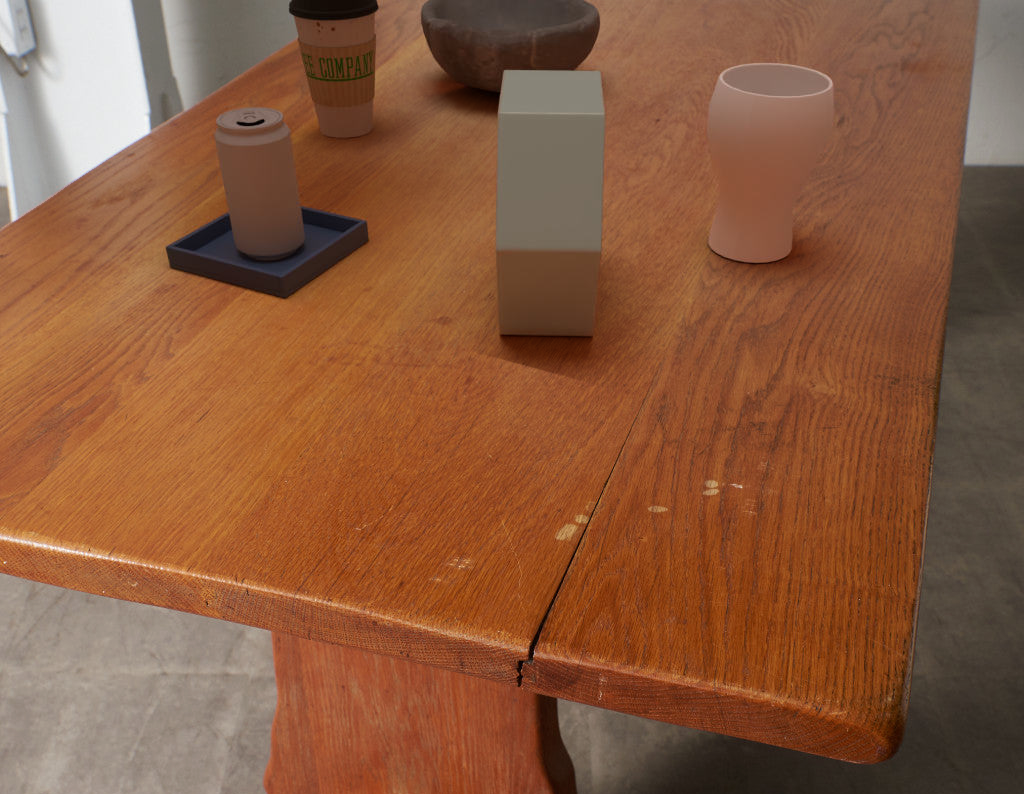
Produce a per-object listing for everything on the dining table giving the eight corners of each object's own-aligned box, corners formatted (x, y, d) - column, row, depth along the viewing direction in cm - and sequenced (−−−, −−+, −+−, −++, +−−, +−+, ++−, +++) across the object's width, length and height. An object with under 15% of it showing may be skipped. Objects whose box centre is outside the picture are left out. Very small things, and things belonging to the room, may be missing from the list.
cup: (829, 246, 95) (865, 79, 85) (762, 282, 89) (792, 108, 80) (737, 212, 101) (761, 53, 91) (669, 244, 95) (686, 78, 86)
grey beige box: (503, 341, 90) (506, 101, 88) (589, 342, 90) (595, 102, 88) (494, 327, 74) (497, 31, 71) (600, 328, 73) (607, 31, 71)
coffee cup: (291, 139, 117) (271, -3, 107) (323, 112, 124) (307, -23, 114) (371, 146, 115) (358, 3, 105) (399, 118, 122) (389, -19, 113)
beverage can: (239, 267, 90) (213, 132, 83) (233, 238, 95) (209, 108, 87) (310, 258, 92) (291, 125, 84) (301, 230, 97) (283, 101, 89)
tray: (169, 267, 92) (165, 246, 90) (260, 215, 101) (256, 195, 99) (285, 298, 87) (282, 277, 86) (369, 240, 96) (367, 220, 95)
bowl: (629, 100, 127) (636, 14, 121) (466, 127, 120) (463, 37, 114) (547, 52, 143) (548, -26, 137) (398, 73, 136) (392, -8, 130)
